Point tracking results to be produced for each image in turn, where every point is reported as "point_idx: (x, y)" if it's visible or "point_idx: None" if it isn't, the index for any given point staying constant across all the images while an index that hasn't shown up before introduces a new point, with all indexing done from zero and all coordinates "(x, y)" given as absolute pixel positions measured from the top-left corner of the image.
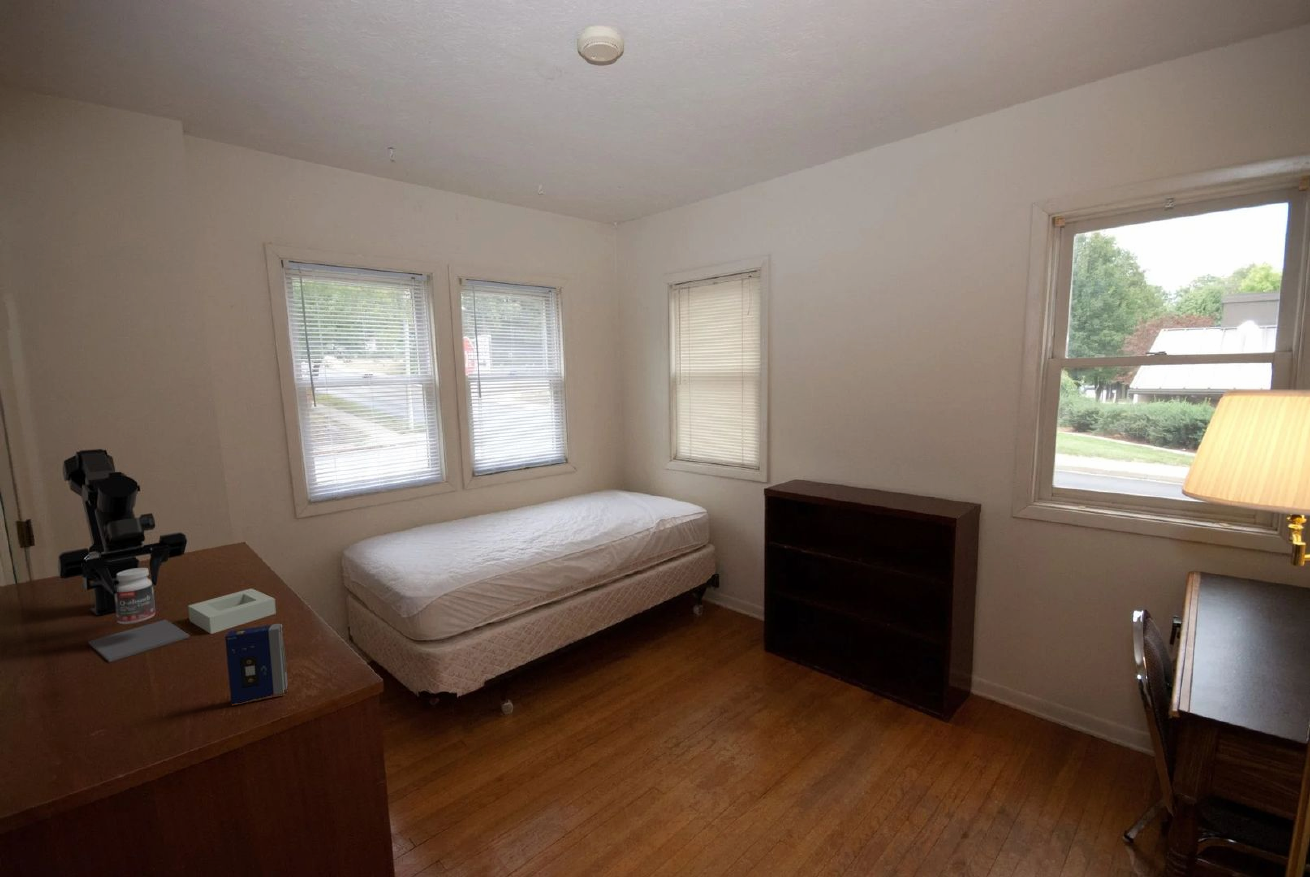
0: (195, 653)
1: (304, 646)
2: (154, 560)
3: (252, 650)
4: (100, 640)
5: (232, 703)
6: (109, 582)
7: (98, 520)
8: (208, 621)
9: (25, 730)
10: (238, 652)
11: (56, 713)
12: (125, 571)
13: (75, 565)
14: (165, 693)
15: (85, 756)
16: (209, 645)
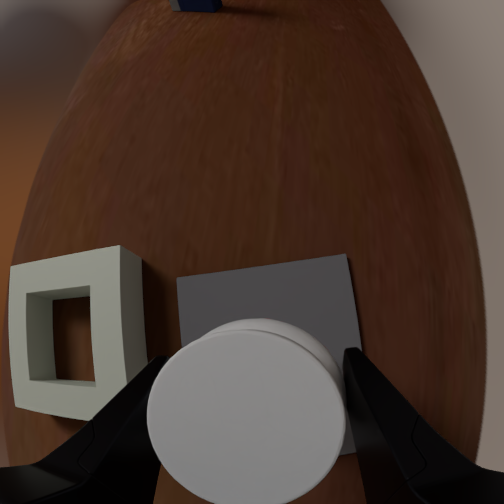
0: (197, 162)
1: (96, 87)
2: (83, 464)
3: None
4: (349, 433)
5: (221, 2)
6: (381, 389)
7: None
8: (126, 260)
9: (415, 78)
10: None
11: (394, 92)
12: (281, 471)
13: None
14: (269, 53)
15: (341, 5)
16: (166, 186)
